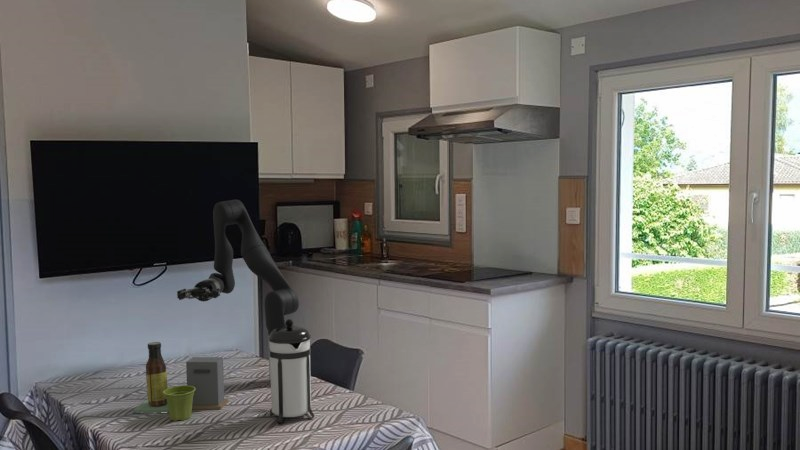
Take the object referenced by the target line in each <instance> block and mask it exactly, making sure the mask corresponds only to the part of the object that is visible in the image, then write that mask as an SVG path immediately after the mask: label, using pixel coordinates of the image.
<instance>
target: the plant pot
mask: <svg viewBox="0 0 800 450" xmlns="http://www.w3.org/2000/svg"><path fill="white" fill-rule="evenodd" d="M195 390H196V388H195V387H193V386H187V384H186V385H178V386H177V385H176V386H171V387H168V389H166V390H164V391H163V394H164V395H165V398H166V399H167V404H168V409H169V413H168V415H169V419H170V420H171V421H173V422H177V421H186V420H189V419H190V418H191V416H192V413H193V412H192V411H193V409H192V401H193V395H194V391H195Z"/></svg>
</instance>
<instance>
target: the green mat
mask: <svg viewBox="0 0 800 450" xmlns="http://www.w3.org/2000/svg"><path fill="white" fill-rule="evenodd" d="M148 402H149V401H148V399H146V400H145V401H144V402H142V403H141V404H139V405H138V406H137V407H135V408H134V409H133V413H134V414H140V413H139V412H143V413H142V414H162V413H161V412H167V413H166V414H169V413H168V412H169V409H168V404H165V405H162V406H150V405H149V403H148ZM154 412H156V413H154Z"/></svg>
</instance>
